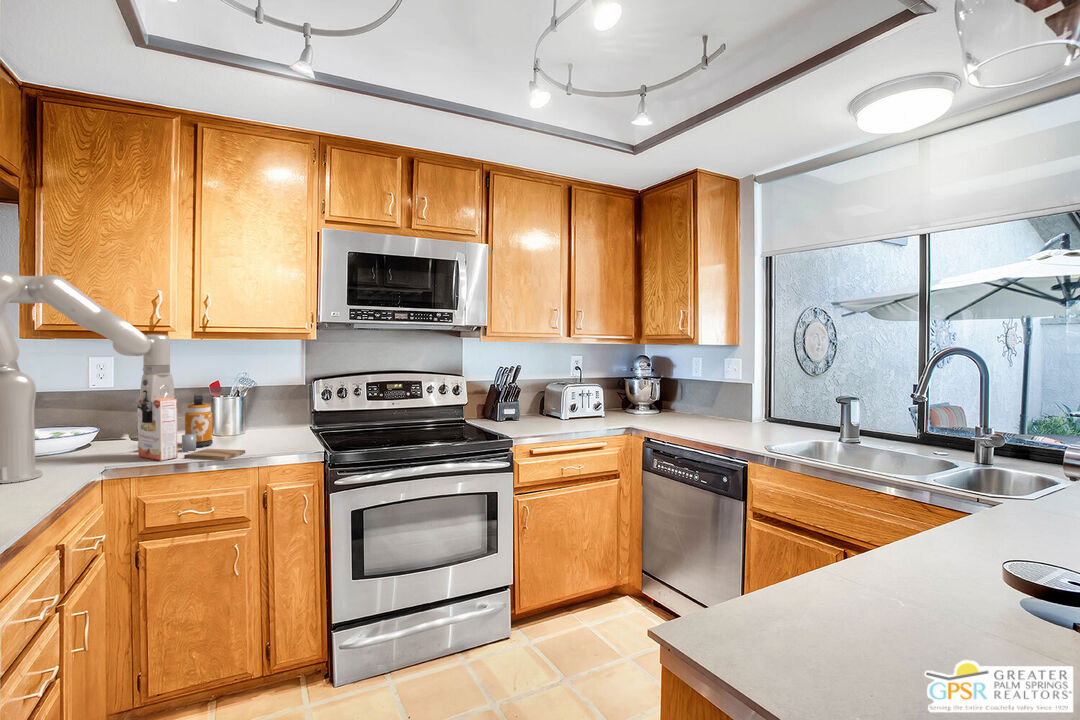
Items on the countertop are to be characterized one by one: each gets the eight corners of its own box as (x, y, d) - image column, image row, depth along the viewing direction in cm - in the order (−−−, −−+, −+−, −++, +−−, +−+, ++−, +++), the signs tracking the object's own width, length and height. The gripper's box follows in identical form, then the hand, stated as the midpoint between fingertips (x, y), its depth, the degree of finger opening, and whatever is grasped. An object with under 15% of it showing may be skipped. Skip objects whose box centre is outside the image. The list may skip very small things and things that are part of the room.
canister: (186, 449, 203) (185, 396, 203) (184, 444, 212) (183, 393, 212) (213, 446, 209) (213, 394, 208) (210, 441, 218) (210, 392, 217)
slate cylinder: (190, 452, 198) (190, 436, 198) (179, 452, 198) (178, 435, 198) (199, 450, 202) (198, 434, 202) (188, 449, 203) (187, 433, 202)
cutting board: (224, 460, 186) (224, 456, 186) (184, 458, 188) (184, 455, 188) (245, 453, 197) (245, 450, 197) (207, 451, 199) (207, 448, 199)
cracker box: (136, 456, 189) (136, 397, 188) (155, 453, 194) (155, 395, 194) (159, 461, 182) (159, 399, 182) (178, 458, 188) (178, 398, 187)
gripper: (145, 371, 178) (146, 425, 179) (185, 369, 196) (185, 417, 196) (125, 371, 179) (125, 424, 180) (166, 368, 196) (166, 417, 197)
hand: (157, 420), depth 188 cm, fingers closed on cracker box, 7 cm apart
